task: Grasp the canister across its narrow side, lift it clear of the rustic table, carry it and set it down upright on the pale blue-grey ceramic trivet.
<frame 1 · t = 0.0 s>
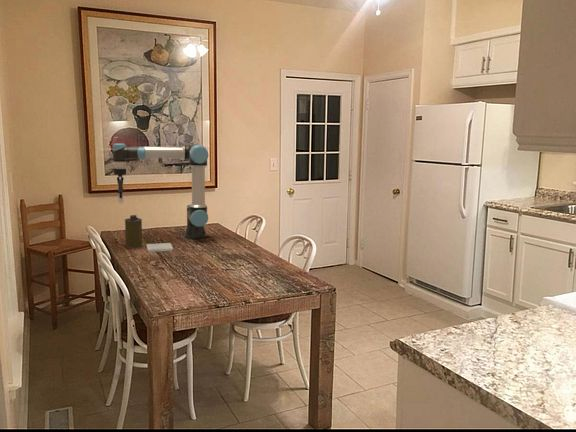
hand: (120, 201, 311), 28 cm above the table, fingers open, 13 cm apart
trivet: (159, 248, 307), on the table
canister: (134, 246, 312), on the table
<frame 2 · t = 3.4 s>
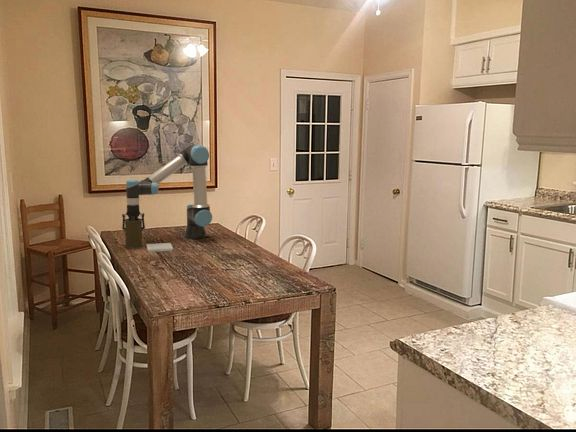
hand: (133, 240, 311), 4 cm above the table, fingers open, 6 cm apart
canister: (134, 246, 312), on the table, touching hand
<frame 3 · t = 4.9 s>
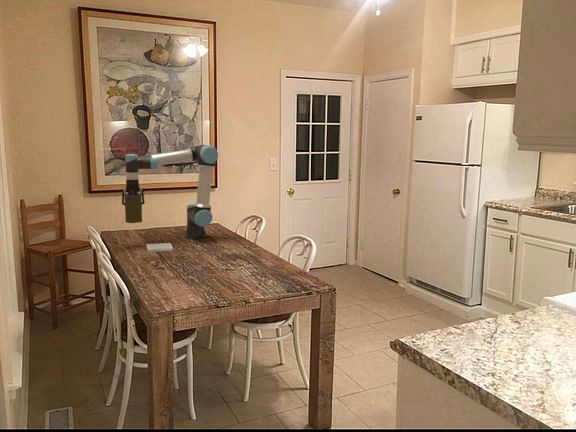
hand: (133, 215, 309), 20 cm above the table, fingers open, 6 cm apart
canister: (134, 221, 309), point 16 cm above the table, touching hand
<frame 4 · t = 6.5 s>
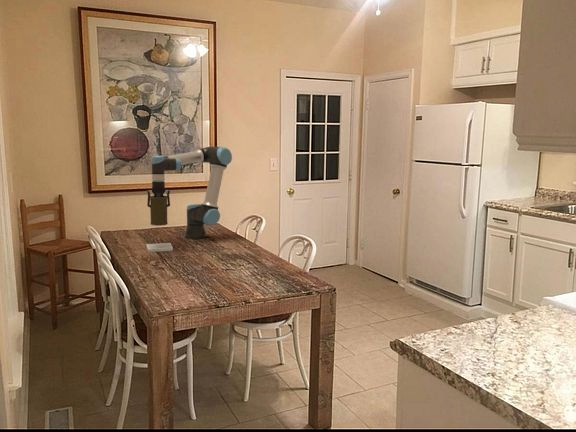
hand: (159, 217, 304), 20 cm above the table, fingers open, 6 cm apart
canister: (159, 224, 305), point 16 cm above the table, touching hand
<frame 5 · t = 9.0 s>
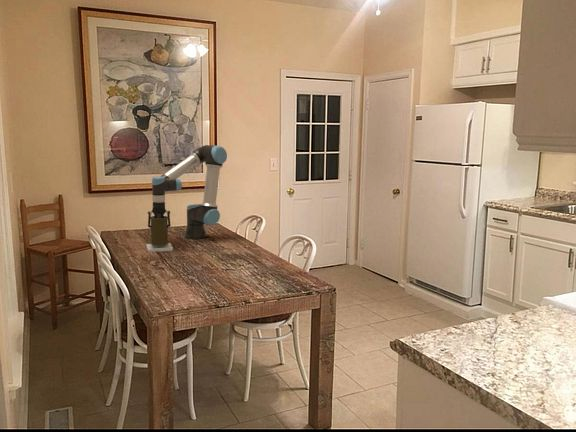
hand: (159, 237, 306), 7 cm above the table, fingers open, 6 cm apart
canister: (159, 244, 307), point 3 cm above the table, touching hand
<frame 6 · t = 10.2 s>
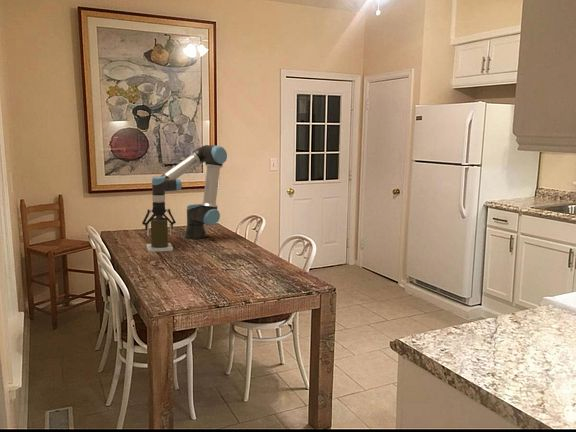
hand: (159, 235, 306), 9 cm above the table, fingers open, 13 cm apart
canister: (159, 246, 307), point 1 cm above the table, touching trivet
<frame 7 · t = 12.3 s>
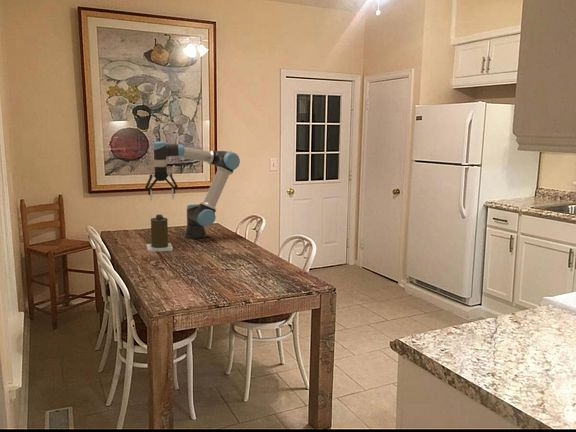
hand: (162, 199, 312), 30 cm above the table, fingers open, 13 cm apart
nothing on the table moved.
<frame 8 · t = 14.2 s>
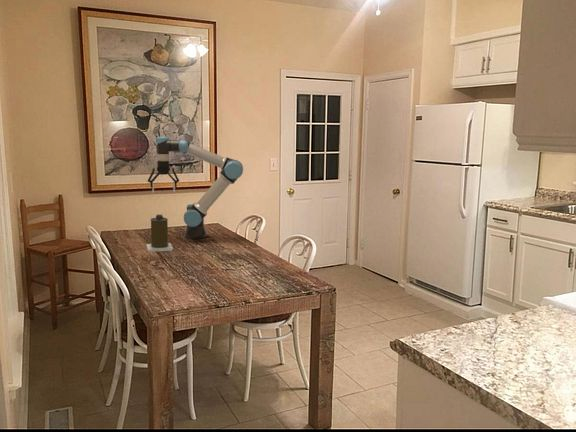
hand: (163, 192, 324), 33 cm above the table, fingers open, 13 cm apart
nothing on the table moved.
at the end: canister inside the target area on the trivet (0.1 cm from its centre), point 1.4 cm above the trivet's base; canister tilted 0°; the gripper is holding nothing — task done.
